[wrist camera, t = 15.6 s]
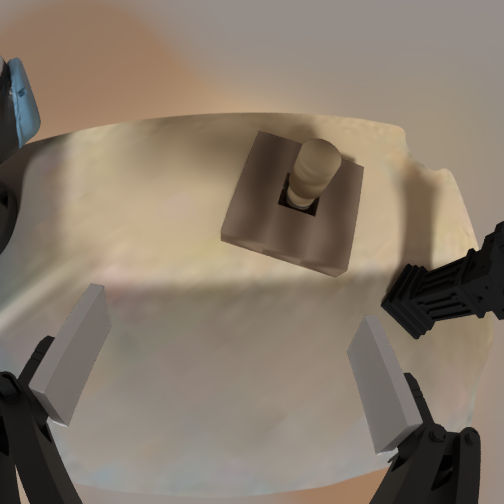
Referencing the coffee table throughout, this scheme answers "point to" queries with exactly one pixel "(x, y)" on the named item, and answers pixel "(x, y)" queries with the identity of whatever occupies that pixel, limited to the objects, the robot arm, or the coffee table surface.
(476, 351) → the coffee table surface
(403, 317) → the chess piece
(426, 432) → the robot arm
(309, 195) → the oak peg
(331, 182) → the walnut board
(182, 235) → the coffee table surface
